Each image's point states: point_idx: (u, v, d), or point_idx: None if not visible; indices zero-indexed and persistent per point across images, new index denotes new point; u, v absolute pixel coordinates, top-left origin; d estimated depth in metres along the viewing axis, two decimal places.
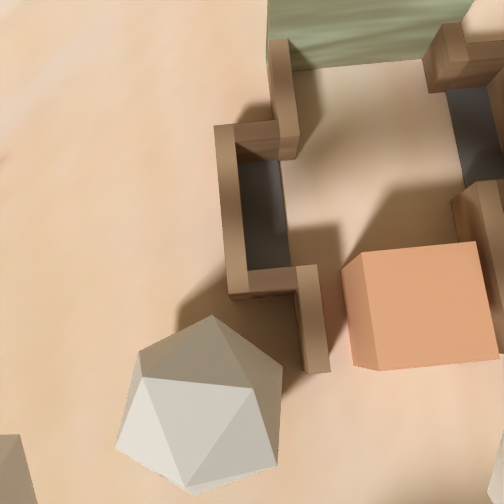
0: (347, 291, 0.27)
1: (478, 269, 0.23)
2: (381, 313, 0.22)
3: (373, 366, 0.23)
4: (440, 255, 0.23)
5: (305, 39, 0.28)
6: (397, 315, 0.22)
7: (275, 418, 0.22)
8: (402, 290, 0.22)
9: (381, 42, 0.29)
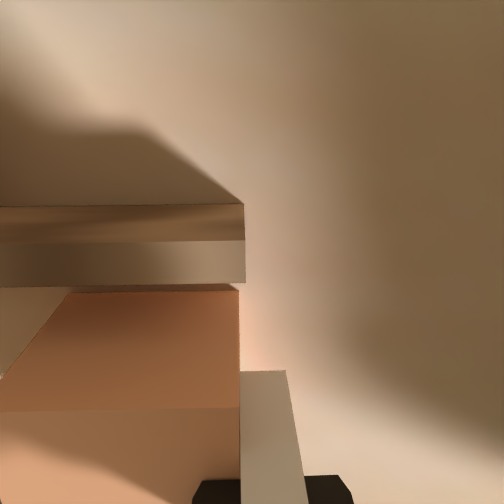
0: None
1: (42, 416, 0.10)
2: None
3: None
4: (16, 475, 0.11)
5: None
6: None
7: None
8: None
9: None
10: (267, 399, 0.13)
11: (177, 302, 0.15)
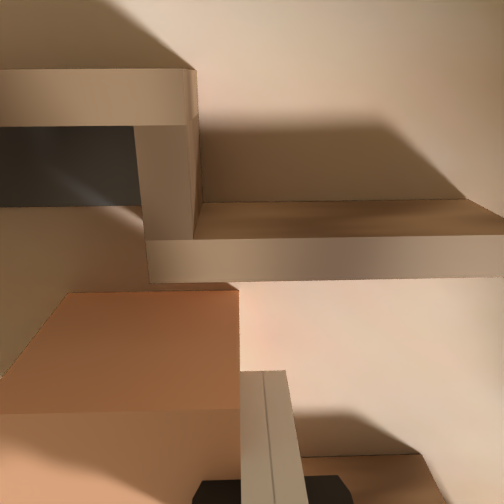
0: None
1: (41, 419, 0.10)
2: None
3: None
4: (15, 478, 0.11)
5: None
6: None
7: None
8: None
9: None
10: (267, 399, 0.13)
11: (177, 302, 0.15)
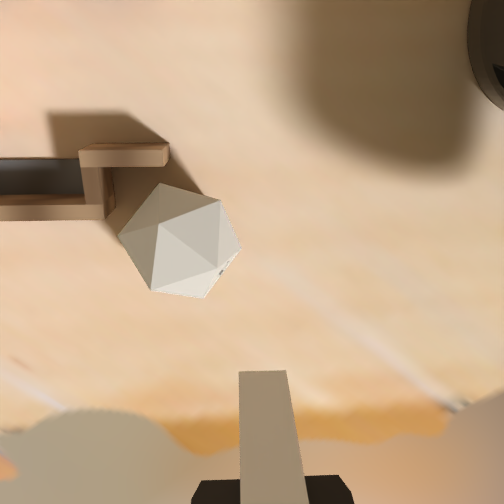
0: None
1: None
2: None
3: None
4: None
5: None
6: None
7: (189, 198, 0.32)
8: None
9: None
10: (268, 399, 0.13)
11: None
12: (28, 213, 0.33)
